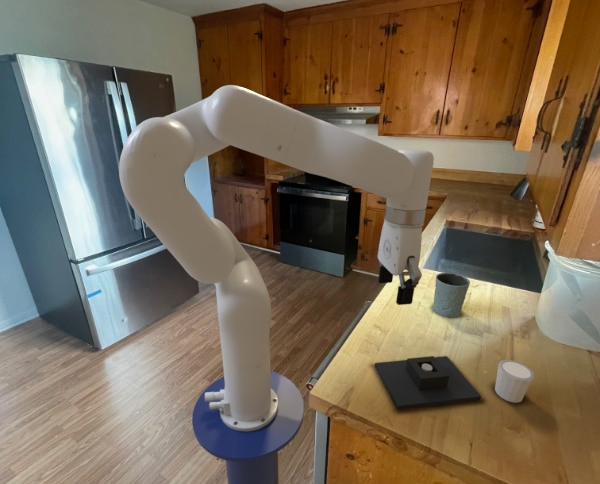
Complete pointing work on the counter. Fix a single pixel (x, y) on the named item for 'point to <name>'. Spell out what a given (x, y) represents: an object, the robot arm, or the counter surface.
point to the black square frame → (427, 380)
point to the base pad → (411, 397)
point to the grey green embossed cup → (450, 294)
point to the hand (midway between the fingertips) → (393, 292)
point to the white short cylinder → (513, 380)
